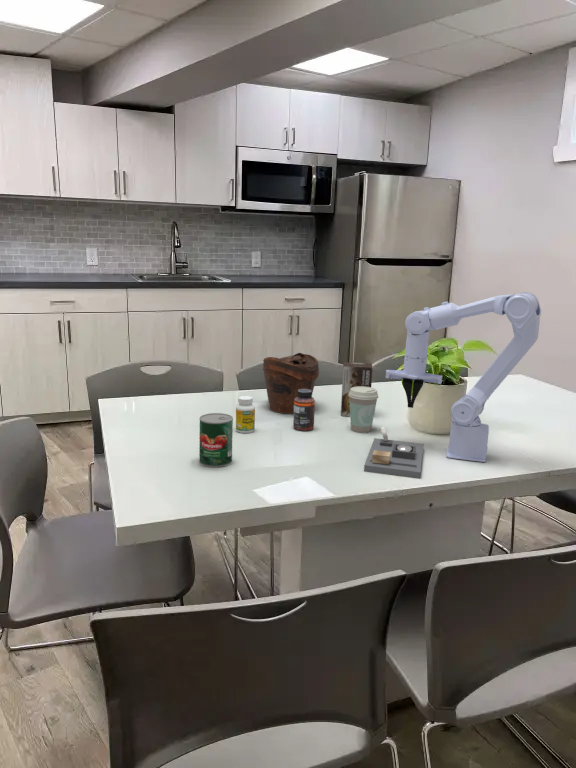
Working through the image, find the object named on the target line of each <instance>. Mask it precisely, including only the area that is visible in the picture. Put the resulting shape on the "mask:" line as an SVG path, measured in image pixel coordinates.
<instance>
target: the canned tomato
mask: <svg viewBox="0 0 576 768" xmlns="http://www.w3.org/2000/svg"><path fill="white" fill-rule="evenodd" d="M233 419H234V417H233V416H232V415H230V414H228V413H222V412H211V413H206V414H202V415H201V416H200V417H199V437H198V438H199V440H198V441H199V442H198V443H199V448H198V449H199V453H198V454H199V461H198V463H199V464H200V465H202V466H204V467H208V468H223V467H226V466H229V465H231V464H232V463H233V429H234V428H233V421H234V420H233Z"/></svg>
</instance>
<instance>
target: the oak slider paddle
mask: <svg viewBox="0 0 576 768" xmlns="http://www.w3.org/2000/svg"><path fill="white" fill-rule="evenodd" d="M390 455H391V452H385V451H377V450H374V452H373V456H372V463H380V464H388V465H389V462H390Z"/></svg>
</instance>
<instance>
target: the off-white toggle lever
mask: <svg viewBox="0 0 576 768" xmlns="http://www.w3.org/2000/svg"><path fill="white" fill-rule="evenodd" d="M380 431H381V435H382V439H384V440H389V436H388V432H387V430H386V428H385V427H381V428H380Z"/></svg>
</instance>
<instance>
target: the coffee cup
mask: <svg viewBox="0 0 576 768" xmlns="http://www.w3.org/2000/svg"><path fill="white" fill-rule="evenodd" d="M378 398H379V393H378V389H376V388H374V387H372V386H371V387H364V386H357V387H352V388H351V389H350V392H349V399H350V416H349V418H350V430H351V431H353V432H357V433H360V434H361V433H362V434H364V433H370V432H371V431H372V427H373V422H374V416H375V412H376V407H377V400H378Z"/></svg>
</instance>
